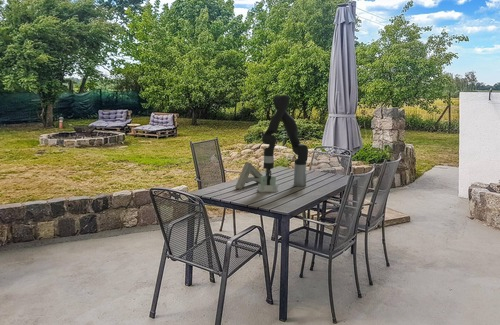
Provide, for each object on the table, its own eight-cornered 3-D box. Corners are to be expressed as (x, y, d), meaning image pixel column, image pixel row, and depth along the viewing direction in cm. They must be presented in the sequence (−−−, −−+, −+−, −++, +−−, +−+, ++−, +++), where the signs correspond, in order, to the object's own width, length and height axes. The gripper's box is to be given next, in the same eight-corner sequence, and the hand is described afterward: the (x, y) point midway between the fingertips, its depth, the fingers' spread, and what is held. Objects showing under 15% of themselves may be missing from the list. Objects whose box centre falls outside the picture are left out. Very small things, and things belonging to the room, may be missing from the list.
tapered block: (275, 186, 285) (275, 175, 284) (275, 187, 282) (276, 176, 281) (260, 186, 284) (260, 175, 283) (261, 187, 281) (261, 176, 280)
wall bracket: (257, 204, 307) (239, 188, 284) (253, 203, 309) (235, 187, 287) (267, 179, 314) (250, 162, 292) (262, 179, 317) (245, 162, 294)
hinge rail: (276, 189, 289) (276, 182, 288) (278, 191, 281) (278, 185, 280) (258, 189, 287) (258, 182, 287) (259, 191, 280) (259, 185, 279)
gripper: (275, 163, 274) (274, 186, 277) (272, 160, 288) (271, 182, 291) (264, 163, 273) (264, 186, 276) (262, 160, 287) (261, 182, 290)
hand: (268, 184), depth 283 cm, fingers closed on tapered block, 2 cm apart
